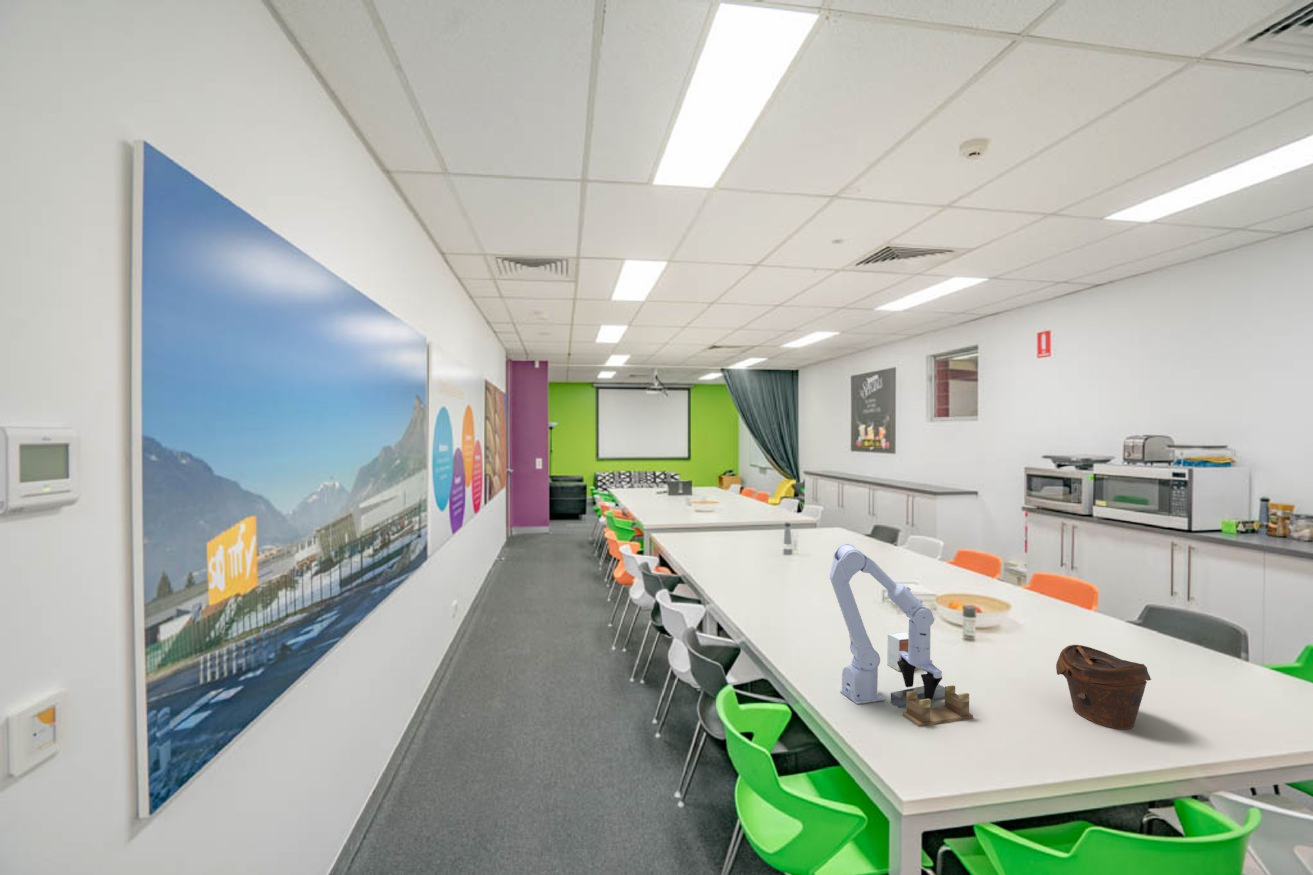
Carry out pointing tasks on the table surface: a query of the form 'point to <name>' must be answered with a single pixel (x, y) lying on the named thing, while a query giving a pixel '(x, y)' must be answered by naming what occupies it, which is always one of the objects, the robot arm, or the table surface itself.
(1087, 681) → the case
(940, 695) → the rail
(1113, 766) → the table surface
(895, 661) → the small box
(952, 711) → the rack
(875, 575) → the robot arm
